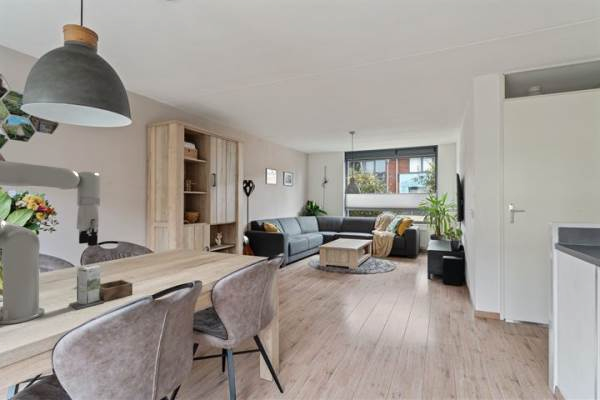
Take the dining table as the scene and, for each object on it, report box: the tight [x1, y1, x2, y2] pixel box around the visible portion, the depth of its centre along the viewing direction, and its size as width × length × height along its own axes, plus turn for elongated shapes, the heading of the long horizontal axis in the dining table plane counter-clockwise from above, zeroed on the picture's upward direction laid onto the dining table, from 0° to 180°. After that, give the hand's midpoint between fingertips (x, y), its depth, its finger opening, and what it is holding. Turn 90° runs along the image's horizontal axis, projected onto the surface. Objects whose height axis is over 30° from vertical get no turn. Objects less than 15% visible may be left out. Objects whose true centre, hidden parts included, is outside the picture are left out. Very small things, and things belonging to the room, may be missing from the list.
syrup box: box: [76, 264, 101, 305], centre depth 121 cm, size 6×6×14 cm
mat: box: [69, 300, 105, 311], centre depth 120 cm, size 9×9×1 cm
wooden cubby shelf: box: [100, 279, 133, 303], centre depth 130 cm, size 11×11×5 cm
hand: (88, 244), depth 120 cm, fingers open, 9 cm apart
